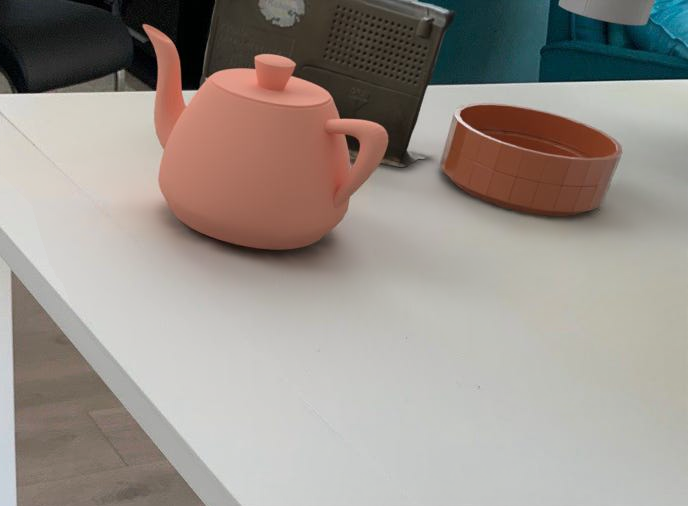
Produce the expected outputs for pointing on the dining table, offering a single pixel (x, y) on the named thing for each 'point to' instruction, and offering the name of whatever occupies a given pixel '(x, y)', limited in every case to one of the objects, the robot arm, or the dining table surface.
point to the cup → (612, 10)
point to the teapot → (257, 152)
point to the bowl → (529, 159)
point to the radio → (341, 55)
